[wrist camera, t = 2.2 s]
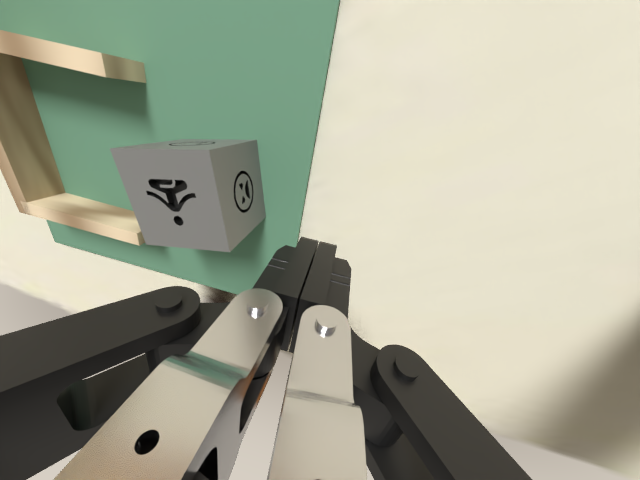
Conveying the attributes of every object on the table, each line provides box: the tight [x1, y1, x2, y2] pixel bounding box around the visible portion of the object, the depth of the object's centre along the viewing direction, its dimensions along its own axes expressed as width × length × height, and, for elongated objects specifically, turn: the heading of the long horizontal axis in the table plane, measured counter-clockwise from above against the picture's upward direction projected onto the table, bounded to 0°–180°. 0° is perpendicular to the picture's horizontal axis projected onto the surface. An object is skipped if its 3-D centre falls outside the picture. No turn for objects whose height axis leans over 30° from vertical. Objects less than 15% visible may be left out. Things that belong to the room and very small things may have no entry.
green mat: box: [0, 0, 340, 294], centre depth 17 cm, size 22×20×1 cm
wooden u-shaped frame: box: [0, 30, 146, 246], centre depth 16 cm, size 10×11×2 cm
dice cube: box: [110, 139, 266, 252], centre depth 14 cm, size 5×5×5 cm
